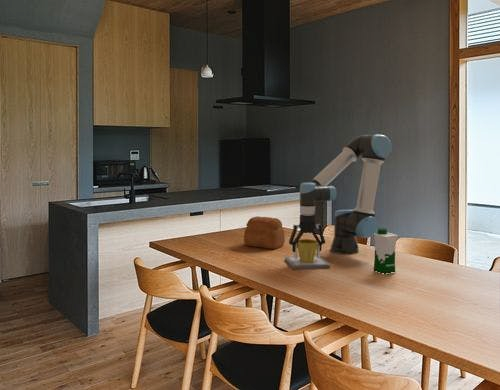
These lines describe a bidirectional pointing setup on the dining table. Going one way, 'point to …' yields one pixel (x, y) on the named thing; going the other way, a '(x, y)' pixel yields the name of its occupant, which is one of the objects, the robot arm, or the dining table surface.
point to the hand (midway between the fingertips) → (306, 257)
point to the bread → (264, 233)
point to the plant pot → (307, 249)
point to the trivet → (307, 263)
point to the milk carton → (384, 251)
